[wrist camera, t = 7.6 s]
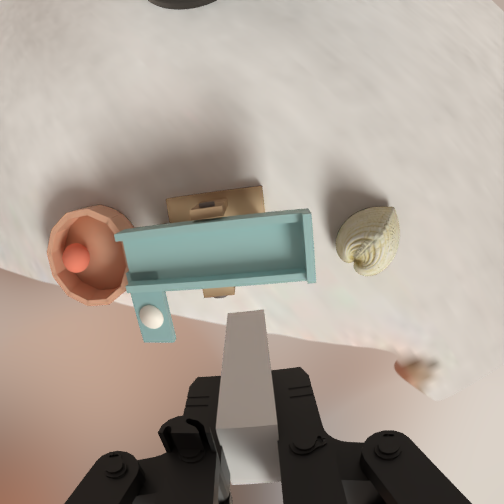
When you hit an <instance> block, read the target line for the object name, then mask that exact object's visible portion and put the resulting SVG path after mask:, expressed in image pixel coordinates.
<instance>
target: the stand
mask: <svg viewBox="0 0 504 504" xmlns="http://www.w3.org/2000/svg"><path fill="white" fill-rule="evenodd" d="M166 203H167V209H168V216H169V222H170V223H176V222H184V221H192V220H201V219H209V218H218V217H227V216H236V215H246V214H255V213H265V208H264V199H263V190H262V186H256V187H247V188H239V189H231V190H223V191H216V192H208V193H201V194H194V195H188V196H181V197H174V198H168V199H166ZM203 294H204V298H207V297H214V298H224V297H226V296H227V295H235V287H221V288H207V289H203Z"/></svg>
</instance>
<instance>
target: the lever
mask: <svg viewBox="0 0 504 504" xmlns="http://www.w3.org/2000/svg"><path fill="white" fill-rule="evenodd" d="M114 237H115V242H118V241H123V245H124V250H125V254H126V259H127V264H128V268H129V271H128V272H127V273H126V276H127V280H128V285H126V290H127V293H131V297H132V301H133V304H134V308H135V312H136V316H137V319H138V323H139V326H140V330H141V334H142V337H143V340H144V342H174V341H175V339H176V335H175V331H174V327H173V323H172V319H171V314H170V310H169V306H168V301H167V297H166V292H165V291H176V290H192V289H207V288H221V287H235V286H248V285H261V284H273V283H285V282H296V281H307V282H308V283H316V272H315V256H314V242H313V229H312V216H311V212H310V211H309V209H296V210H286V211H275V212H265V213H255V214H246V215H236V216H227V217H218V218H209V219H201V220H192V221H184V222H176V223H168V224H160V225H153V226H145V227H138V228H131V229H124V230H122V231H120V232H118V233H116V234H114Z"/></svg>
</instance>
